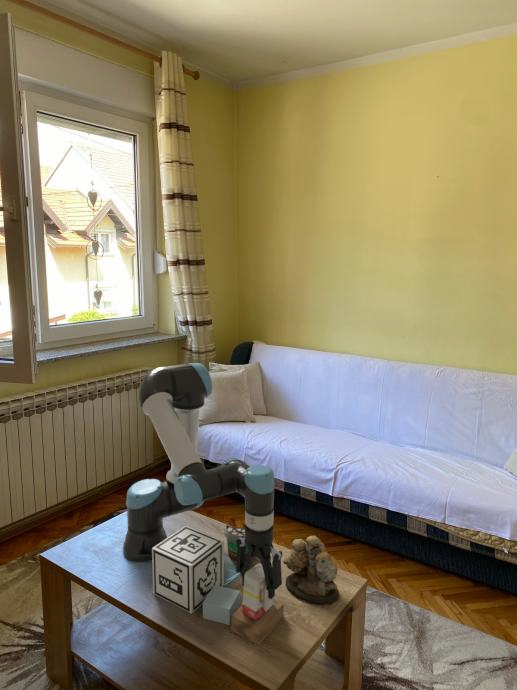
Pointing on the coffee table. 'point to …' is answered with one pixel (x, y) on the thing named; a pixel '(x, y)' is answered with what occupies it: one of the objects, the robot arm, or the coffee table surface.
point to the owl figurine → (311, 572)
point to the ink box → (254, 592)
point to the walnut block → (257, 623)
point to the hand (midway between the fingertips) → (258, 602)
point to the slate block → (221, 604)
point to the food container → (234, 540)
